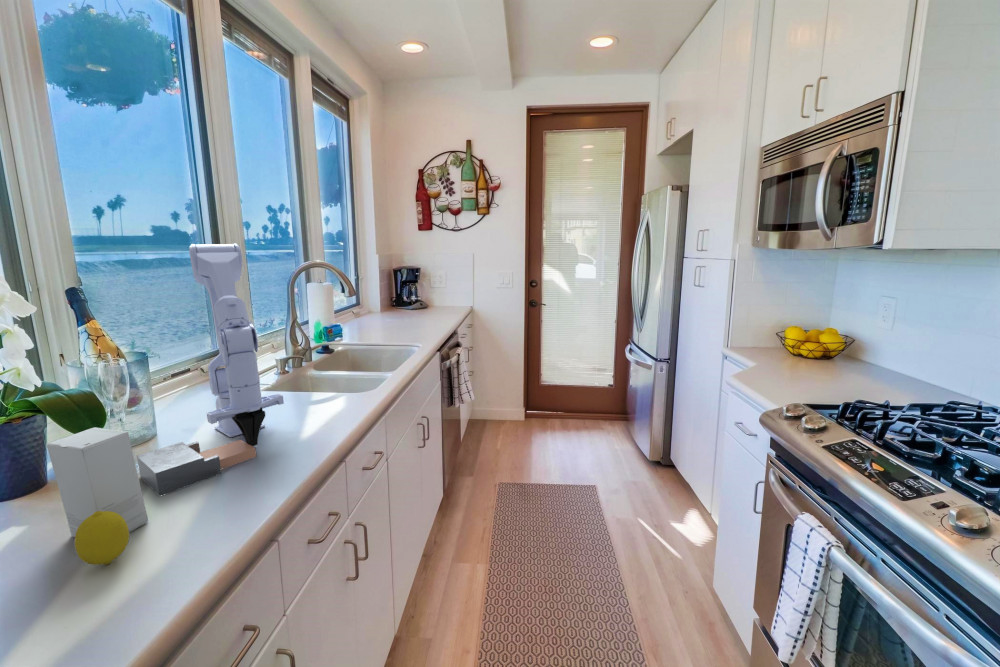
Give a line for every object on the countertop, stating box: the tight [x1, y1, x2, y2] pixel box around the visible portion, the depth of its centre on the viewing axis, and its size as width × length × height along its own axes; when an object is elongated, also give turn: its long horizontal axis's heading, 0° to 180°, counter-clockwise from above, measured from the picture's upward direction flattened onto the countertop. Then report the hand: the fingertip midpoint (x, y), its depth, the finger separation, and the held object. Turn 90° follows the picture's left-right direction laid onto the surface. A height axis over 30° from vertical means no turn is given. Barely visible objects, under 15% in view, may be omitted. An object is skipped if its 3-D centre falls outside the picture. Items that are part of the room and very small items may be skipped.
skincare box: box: [46, 426, 149, 538], centre depth 69 cm, size 8×7×16 cm
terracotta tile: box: [198, 439, 257, 470], centre depth 92 cm, size 7×12×2 cm, turn 142°
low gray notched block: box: [136, 441, 222, 497], centre depth 87 cm, size 11×10×4 cm
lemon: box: [74, 511, 130, 566], centre depth 62 cm, size 6×6×8 cm
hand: (252, 444), depth 97 cm, fingers closed
